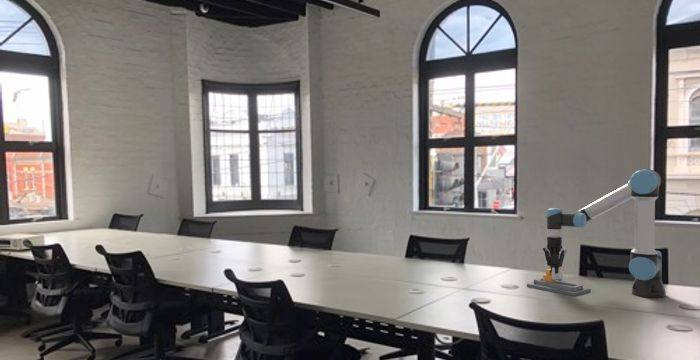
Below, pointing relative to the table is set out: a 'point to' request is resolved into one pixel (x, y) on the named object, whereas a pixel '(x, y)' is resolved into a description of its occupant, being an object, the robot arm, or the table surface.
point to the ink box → (561, 271)
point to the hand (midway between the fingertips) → (554, 279)
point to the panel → (559, 287)
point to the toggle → (548, 276)
